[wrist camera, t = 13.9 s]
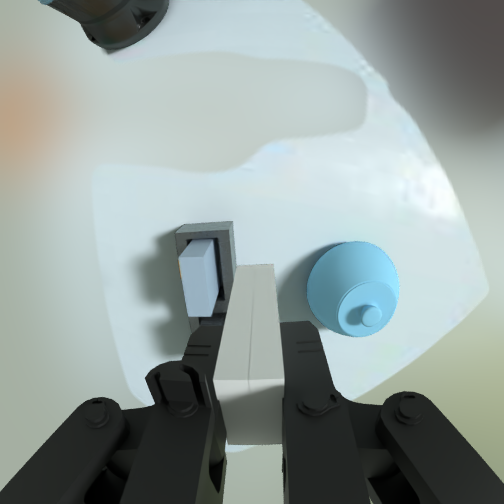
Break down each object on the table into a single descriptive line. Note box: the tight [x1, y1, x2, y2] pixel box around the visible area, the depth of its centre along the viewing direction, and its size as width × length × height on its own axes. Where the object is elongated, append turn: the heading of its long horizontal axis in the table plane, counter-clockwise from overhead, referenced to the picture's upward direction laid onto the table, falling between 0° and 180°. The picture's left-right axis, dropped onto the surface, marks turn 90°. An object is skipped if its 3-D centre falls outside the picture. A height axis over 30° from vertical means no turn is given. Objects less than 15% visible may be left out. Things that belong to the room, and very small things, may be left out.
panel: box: [179, 238, 221, 317], centre depth 38 cm, size 8×3×10 cm, turn 3°
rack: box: [175, 221, 237, 333], centre depth 41 cm, size 23×8×11 cm, turn 4°
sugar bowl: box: [307, 241, 399, 337], centre depth 39 cm, size 15×15×12 cm
